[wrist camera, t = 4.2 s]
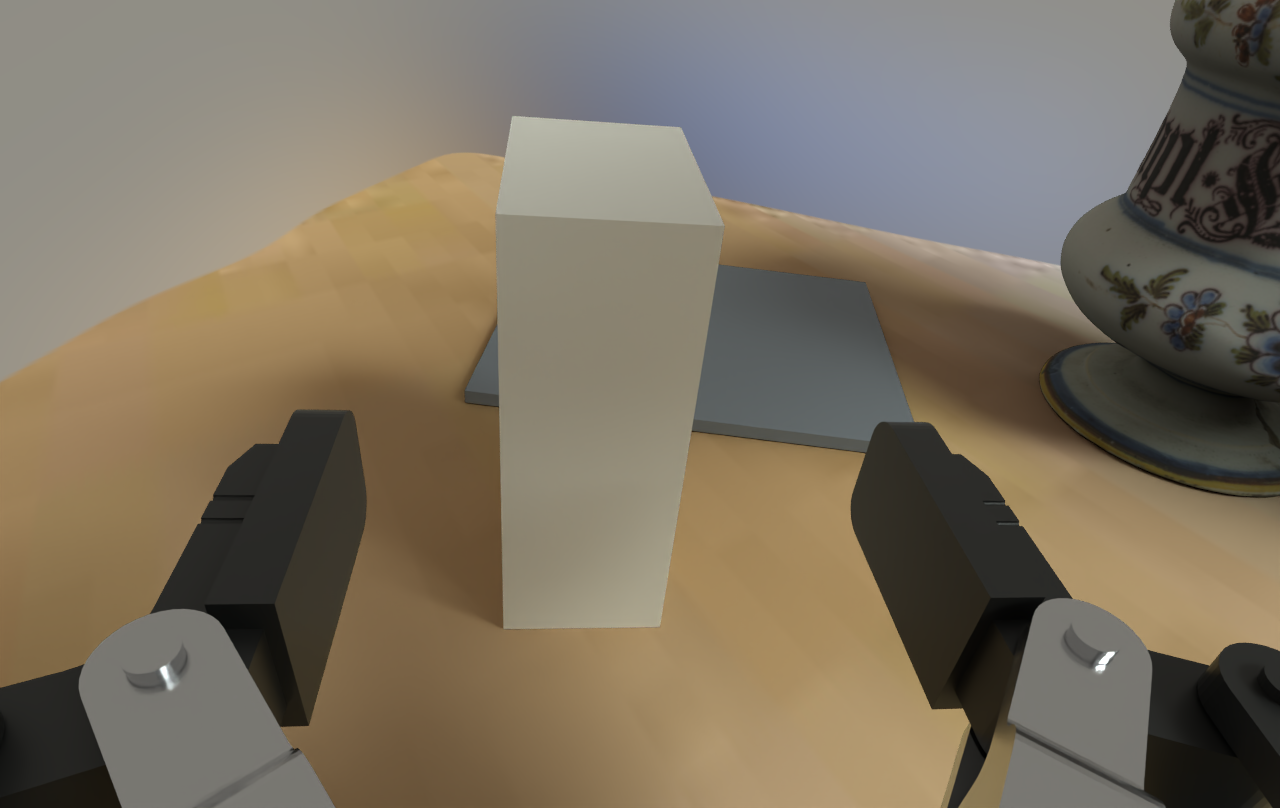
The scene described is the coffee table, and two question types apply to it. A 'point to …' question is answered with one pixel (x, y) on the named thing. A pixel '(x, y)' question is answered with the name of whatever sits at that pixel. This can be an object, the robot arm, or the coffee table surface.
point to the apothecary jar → (1189, 273)
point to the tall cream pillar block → (597, 364)
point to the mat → (780, 362)
